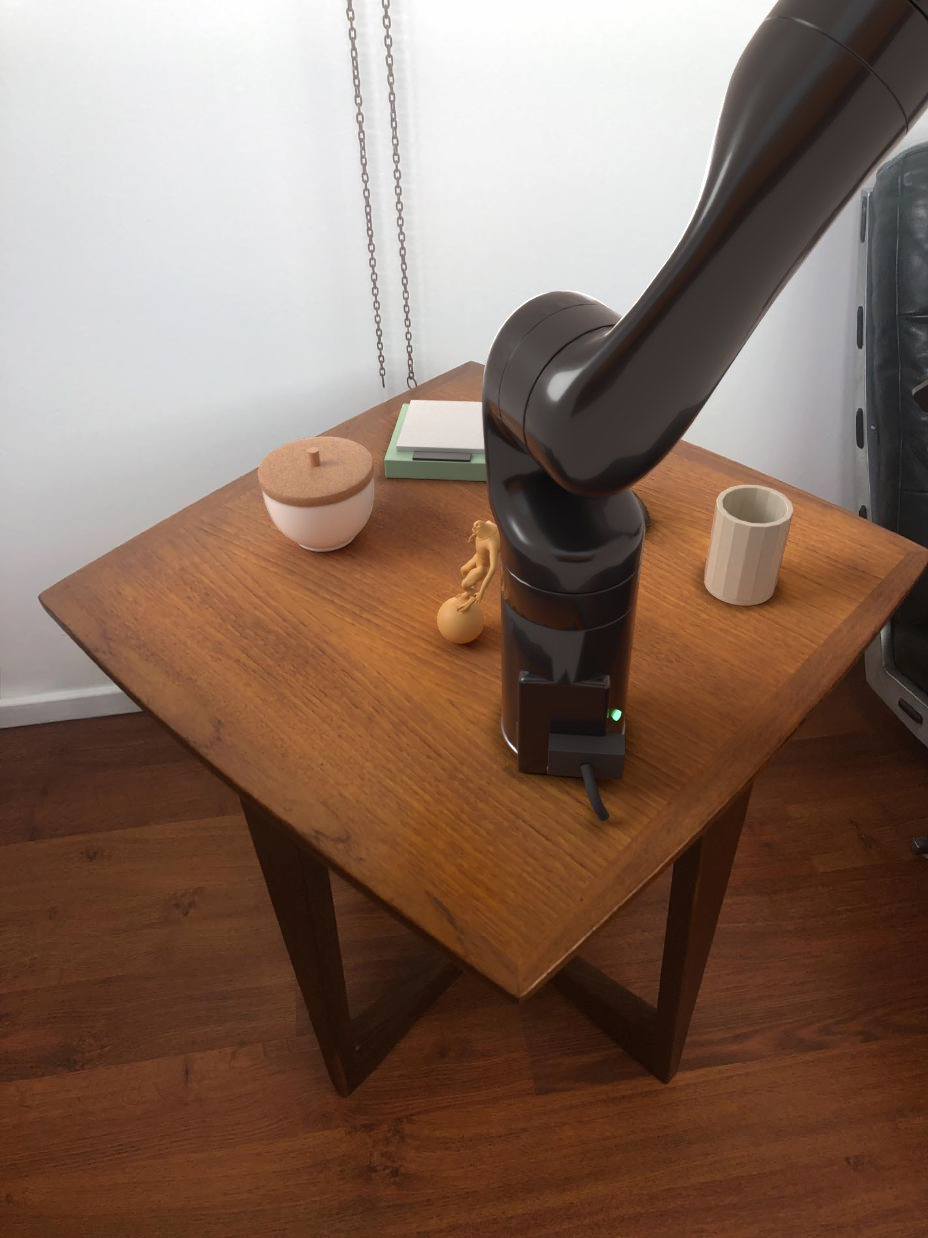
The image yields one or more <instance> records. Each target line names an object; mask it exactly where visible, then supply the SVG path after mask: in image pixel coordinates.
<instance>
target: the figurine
mask: <svg viewBox="0 0 928 1238" xmlns="http://www.w3.org/2000/svg"><path fill="white" fill-rule="evenodd" d="M471 531H472V534H471V535H470V536H469V538H468V540H467V542H466V543H471V542H474V540H475V549H476V550H475V551H476V552H475V554H474V555H473V557H472V558H471V559H469V561H467V562H466V563H465V564H464V565H463V566H461V567H460V570H459V571H460V574H461V576H462V577H463V580H462V581H461V588H462V590H463V591H464V592H463V593H458V594H457V595H456V596H452V597H450V598H449V599H447V600H445V601H444V602H443V603H442V604H441V606H440V608H439V609H438V612H437V614H436V625H437V628H438V631H439V632H440V634H441V636H442V637H443V638H445V640H447V641H449V642H451V643H454V644H461V645H462V644H468V643H470V642H472V641H474V640H475V639H476V638H478V636H479V635H480V634H481V633H482V631H483V629H484V626H485V615H484V611H483V609H482V607H481V605H480V604H481V601H482V600H483V597H484V594H485V591H486V589H487V588H488V587H489V585H490V583H491V581H492V580H493V577H494V576H495V574H496V572H497V569H498V561H499V560H498V557H499V556H498V555H499V554H500V536H499V531H498V528H497V525H496V523H495V522H492V521H491V520H486V521H484V520H481V519H480V520H479V519H478V520H476V521H474V523H473V527H472V528H471ZM489 566H490V567H489ZM487 568H488V569H487ZM483 579H484V580H483ZM481 581H482V584H481V586H480V590H477V587H478V583H479V582H481Z"/></svg>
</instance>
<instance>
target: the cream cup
mask: <svg viewBox="0 0 928 1238" xmlns="http://www.w3.org/2000/svg"><path fill="white" fill-rule="evenodd" d="M793 516H794V507H793V502H792V501H791V500H790V499H789V498H788V497H787V495H785V494H784V493H782V492H780V491H778V490H776V489H775V488H772V487H767V486H764V485H760V484H739V485H734V486H730V487H728V488H727V489H725V490H723V491H721V492H720V493H719V494H718V497H717V498H716V501H715V507H714V512H713V519H712V525H711V531H710V535H709V536H710V537H709V541H708V549H707V553H706V555H707V556H706V561H705V566H704V571H703V572H704V577H703V583H704V587H705V588H706V590H707V591H708V593H709V594H711V595H712V596H713V597H714V598H715V599H718V600H720V601H722V602H723V603H727V604H730V605H735V606H741V607H742V606H743V607H745V606H746V607H747V606H748V607H749V606H755V605H760V604H762V603H764V602H766V601H768V600H769V599H771V597H772V596H773V595H774V593H775V591H776V587H777V585H778V582H779V581H778V580H779V576H780V571H781V568H782V563H783V560H784V555H785V550H786V546H787V542H788V537H789V533H790V530H791V525H792V520H793Z"/></svg>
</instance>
